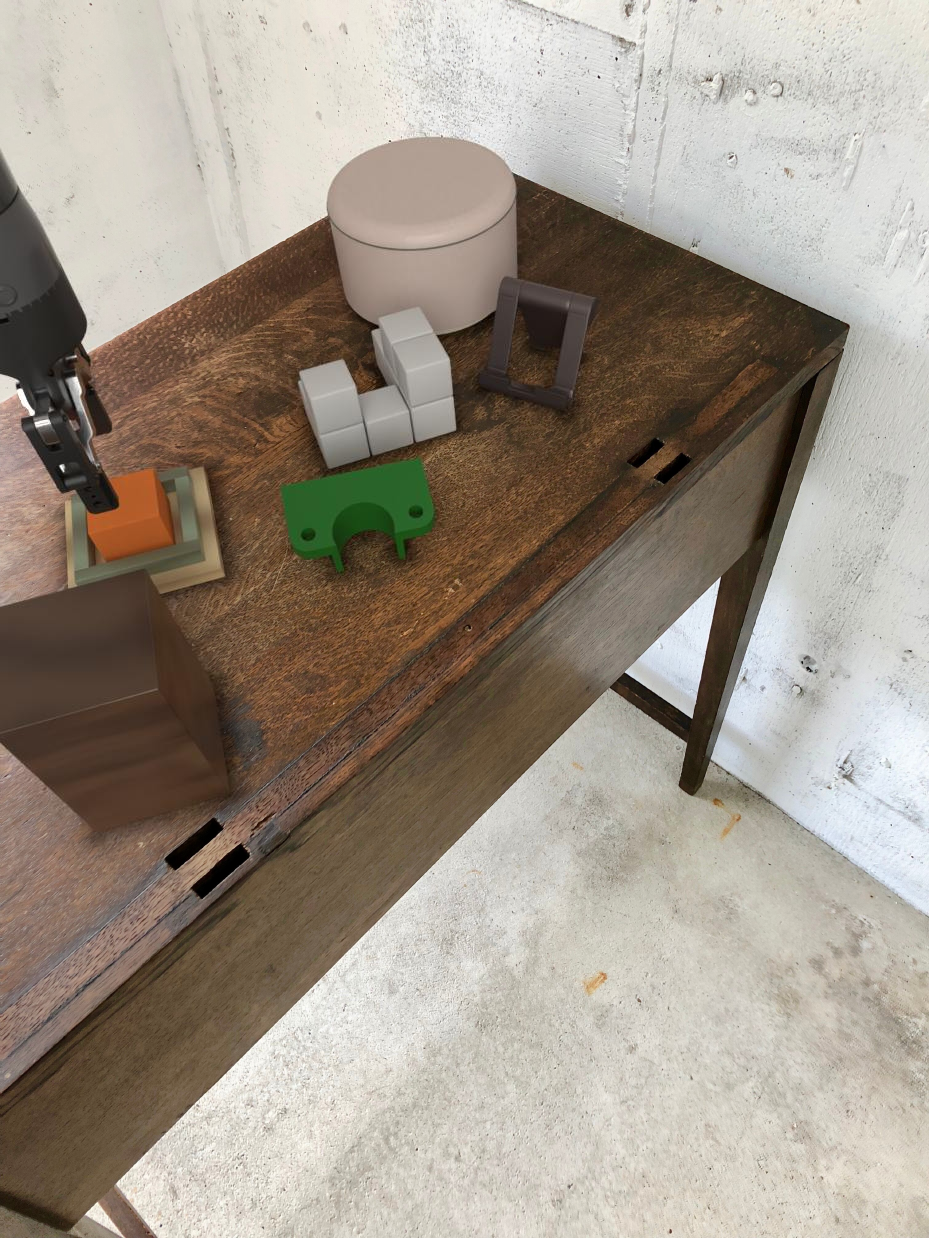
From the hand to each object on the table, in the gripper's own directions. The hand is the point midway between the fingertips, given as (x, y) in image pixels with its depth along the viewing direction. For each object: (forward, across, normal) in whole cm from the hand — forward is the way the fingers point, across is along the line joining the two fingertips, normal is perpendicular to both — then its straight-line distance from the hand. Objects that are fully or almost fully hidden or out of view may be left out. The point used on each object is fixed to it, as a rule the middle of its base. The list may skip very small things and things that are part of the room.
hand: (102, 469), depth 66 cm
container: (+9, -25, +32) cm, 41 cm away
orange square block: (+8, 0, 0) cm, 8 cm away
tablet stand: (+9, -8, +38) cm, 39 cm away
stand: (+9, +20, -1) cm, 22 cm away
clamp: (+9, +6, +18) cm, 21 cm away
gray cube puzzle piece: (+9, -9, +22) cm, 25 cm away
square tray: (+9, 0, 0) cm, 9 cm away
